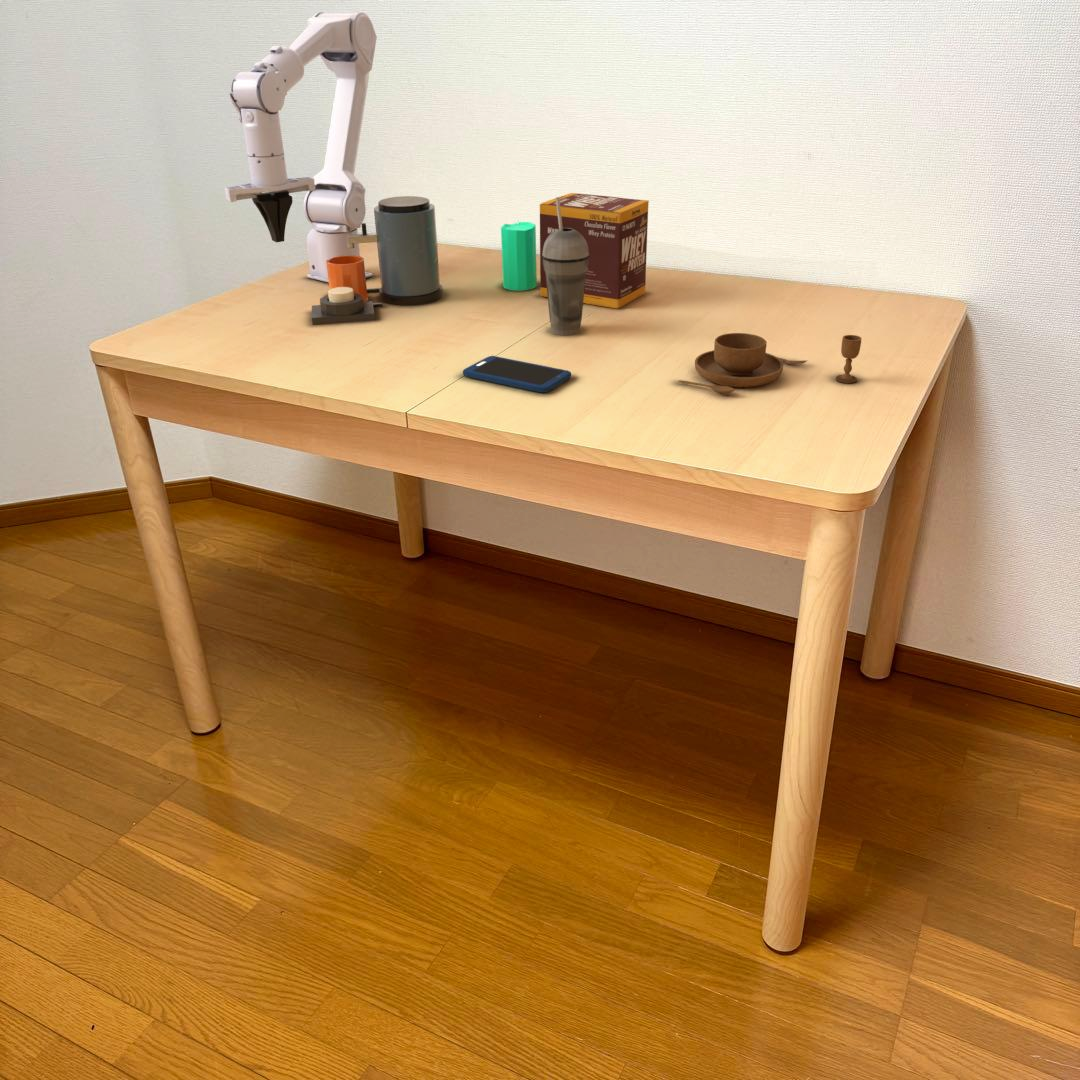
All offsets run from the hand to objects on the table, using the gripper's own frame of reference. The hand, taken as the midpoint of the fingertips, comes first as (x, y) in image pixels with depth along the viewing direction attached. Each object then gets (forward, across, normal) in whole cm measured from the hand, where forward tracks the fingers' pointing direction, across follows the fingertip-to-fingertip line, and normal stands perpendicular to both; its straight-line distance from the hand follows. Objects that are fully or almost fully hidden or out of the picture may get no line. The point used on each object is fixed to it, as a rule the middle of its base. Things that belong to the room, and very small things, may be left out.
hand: (278, 240), depth 169 cm
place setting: (+11, -37, +76) cm, 85 cm away
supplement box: (+11, -44, +29) cm, 54 cm away
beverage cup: (+11, -29, +42) cm, 52 cm away
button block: (+10, -4, +13) cm, 17 cm away
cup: (+10, -9, +6) cm, 15 cm away
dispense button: (+8, -4, +13) cm, 16 cm away
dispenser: (+10, -15, +9) cm, 20 cm away
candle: (+11, -37, +16) cm, 42 cm away
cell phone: (+10, -11, +54) cm, 56 cm away
